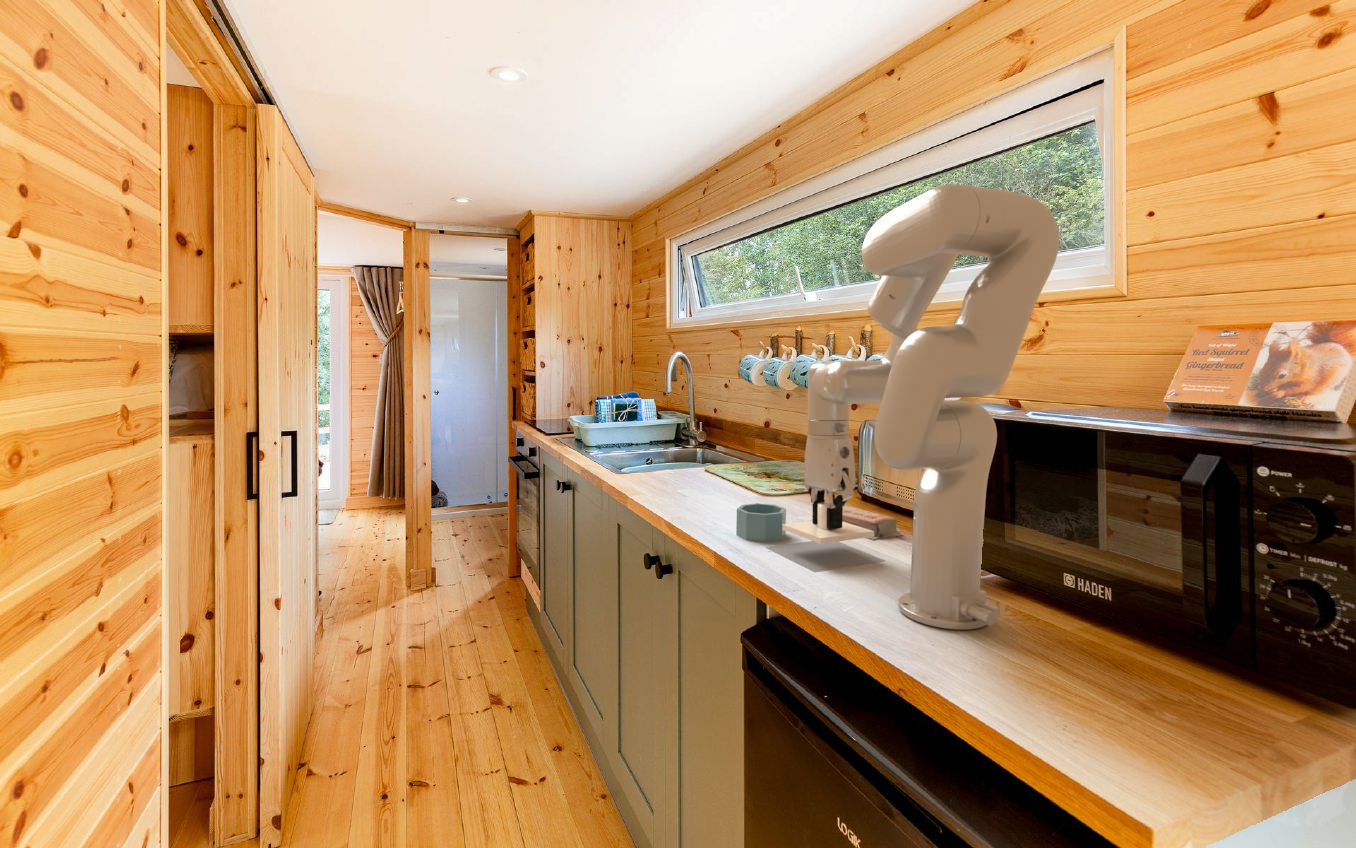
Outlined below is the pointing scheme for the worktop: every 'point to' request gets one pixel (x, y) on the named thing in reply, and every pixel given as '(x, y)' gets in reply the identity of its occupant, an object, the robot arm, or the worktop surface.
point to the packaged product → (871, 522)
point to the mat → (824, 555)
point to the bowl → (761, 522)
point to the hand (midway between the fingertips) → (827, 525)
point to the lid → (825, 535)
